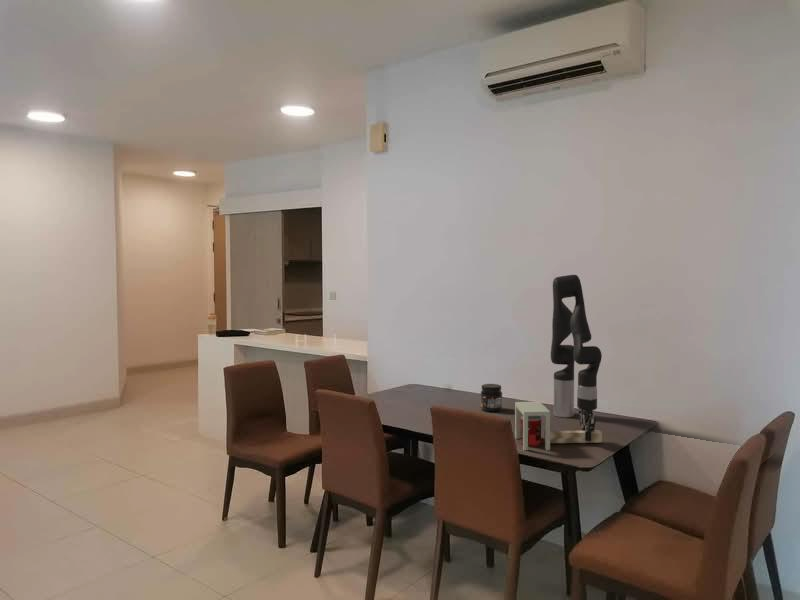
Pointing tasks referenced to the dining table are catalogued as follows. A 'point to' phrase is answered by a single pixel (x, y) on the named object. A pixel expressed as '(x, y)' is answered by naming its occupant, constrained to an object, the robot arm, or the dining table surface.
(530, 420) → the canned food
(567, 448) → the dining table surface
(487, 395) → the supplement container
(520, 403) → the stand
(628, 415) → the dining table surface
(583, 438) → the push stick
